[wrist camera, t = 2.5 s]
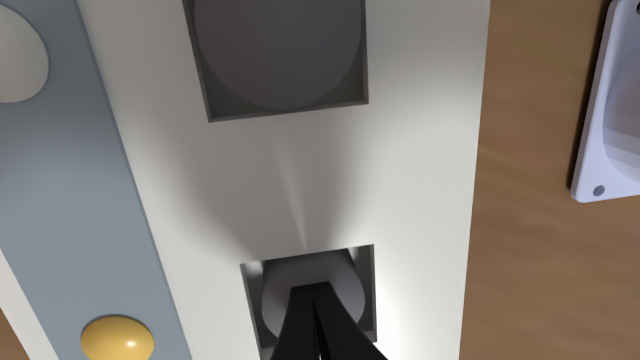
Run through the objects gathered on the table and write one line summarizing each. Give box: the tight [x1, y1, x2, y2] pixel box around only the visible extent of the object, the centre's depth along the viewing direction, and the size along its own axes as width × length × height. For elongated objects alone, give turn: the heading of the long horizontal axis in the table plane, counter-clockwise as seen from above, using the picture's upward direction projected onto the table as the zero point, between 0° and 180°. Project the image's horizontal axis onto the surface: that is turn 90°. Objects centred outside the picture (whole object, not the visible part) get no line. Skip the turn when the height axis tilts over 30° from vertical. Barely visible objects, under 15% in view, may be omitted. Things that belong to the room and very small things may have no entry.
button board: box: [0, 0, 490, 360], centre depth 10 cm, size 15×26×3 cm, turn 5°
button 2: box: [262, 248, 365, 337], centre depth 13 cm, size 4×4×2 cm
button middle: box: [194, 0, 361, 108], centre depth 9 cm, size 4×4×2 cm
